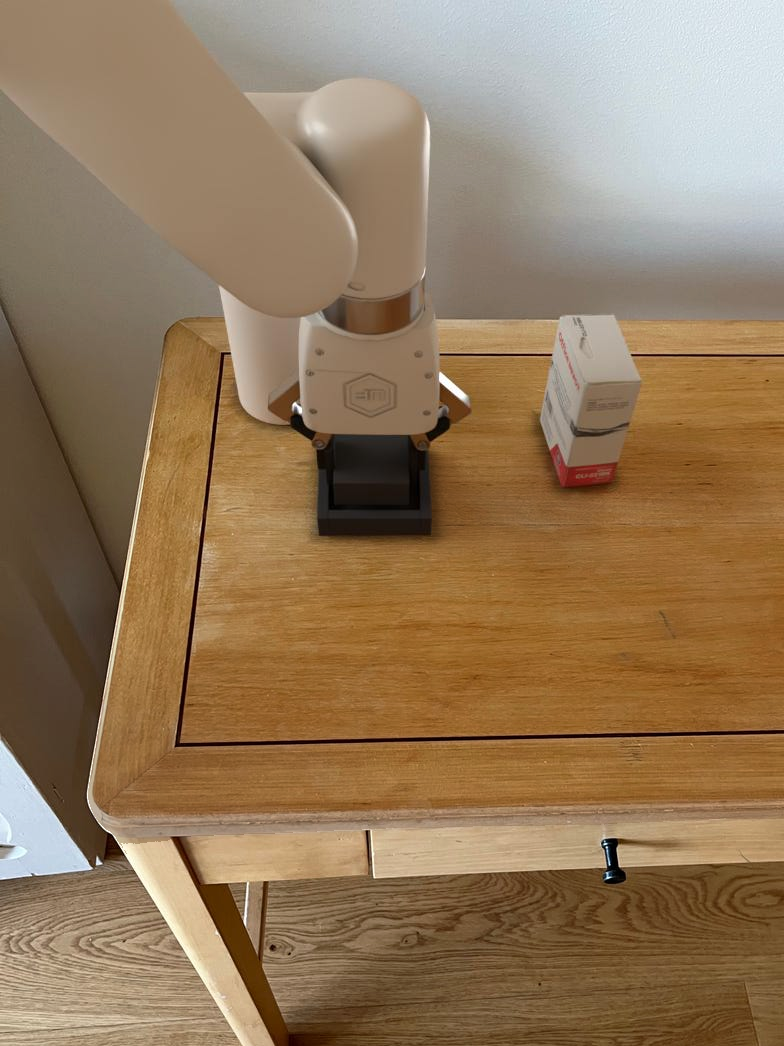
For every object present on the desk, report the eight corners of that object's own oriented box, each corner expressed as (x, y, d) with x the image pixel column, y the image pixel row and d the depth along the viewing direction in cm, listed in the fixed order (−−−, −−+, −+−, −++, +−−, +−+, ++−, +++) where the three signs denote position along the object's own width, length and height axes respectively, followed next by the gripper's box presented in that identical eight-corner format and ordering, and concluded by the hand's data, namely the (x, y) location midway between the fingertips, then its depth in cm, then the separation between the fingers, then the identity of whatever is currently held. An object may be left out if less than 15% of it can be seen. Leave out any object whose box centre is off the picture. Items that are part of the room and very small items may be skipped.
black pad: (334, 505, 78) (333, 483, 76) (335, 450, 81) (334, 428, 79) (408, 505, 79) (409, 483, 76) (407, 451, 82) (407, 429, 80)
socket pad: (318, 536, 79) (316, 518, 77) (321, 453, 84) (319, 434, 82) (430, 536, 80) (431, 518, 78) (426, 454, 85) (427, 435, 83)
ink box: (614, 483, 84) (644, 380, 74) (560, 489, 83) (583, 385, 74) (589, 414, 89) (614, 308, 79) (538, 419, 88) (556, 312, 78)
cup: (224, 413, 85) (193, 255, 72) (258, 353, 90) (234, 194, 76) (313, 433, 85) (298, 279, 71) (342, 372, 89) (333, 216, 76)
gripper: (232, 320, 61) (263, 506, 76) (500, 327, 63) (478, 507, 78) (241, 248, 65) (268, 438, 80) (492, 256, 67) (472, 440, 82)
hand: (371, 470), depth 79 cm, fingers closed on black pad, 5 cm apart
